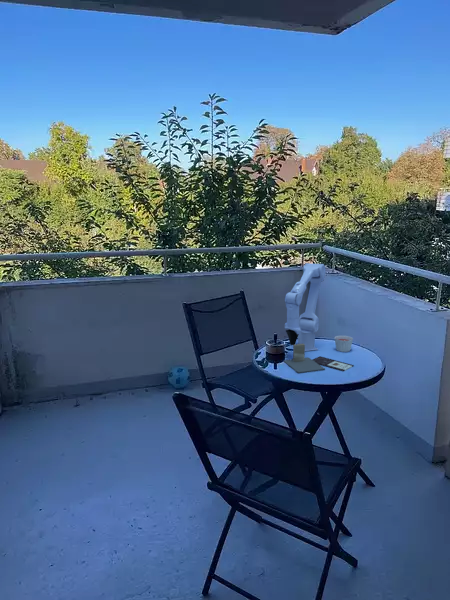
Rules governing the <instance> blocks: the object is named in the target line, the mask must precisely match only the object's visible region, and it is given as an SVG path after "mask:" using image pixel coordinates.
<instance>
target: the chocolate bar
mask: <svg viewBox="0 0 450 600" xmlns="http://www.w3.org/2000/svg"><path fill="white" fill-rule="evenodd" d="M311 359H312V358H311ZM312 360H313V361H314V362H316V363H317V364H319V365H320V366H322V367H325V368H329V369H332V370H337V371H339V372H346V371H348V370H349V369H351V368H353V367H355V365H354V364H352V363H351V364H350V363H347V362H344V361H343V362H342V361H339V360H336V359H332V358H328V357H325V356H322V355H321V356H319V355H318V356H317V357H315V358H313V359H312Z"/></svg>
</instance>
